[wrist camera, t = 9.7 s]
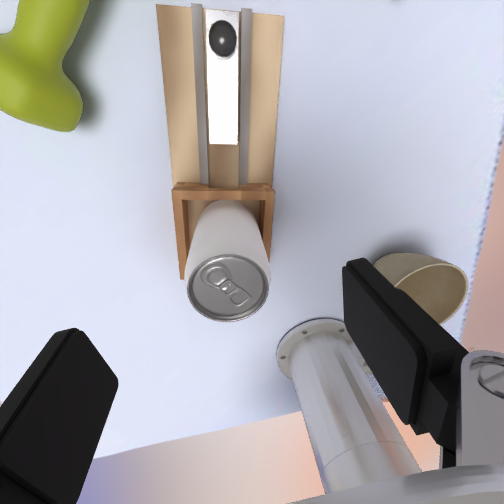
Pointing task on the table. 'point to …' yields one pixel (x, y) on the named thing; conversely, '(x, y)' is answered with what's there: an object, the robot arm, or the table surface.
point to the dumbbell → (41, 64)
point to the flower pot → (426, 282)
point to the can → (227, 263)
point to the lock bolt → (222, 75)
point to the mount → (197, 119)
